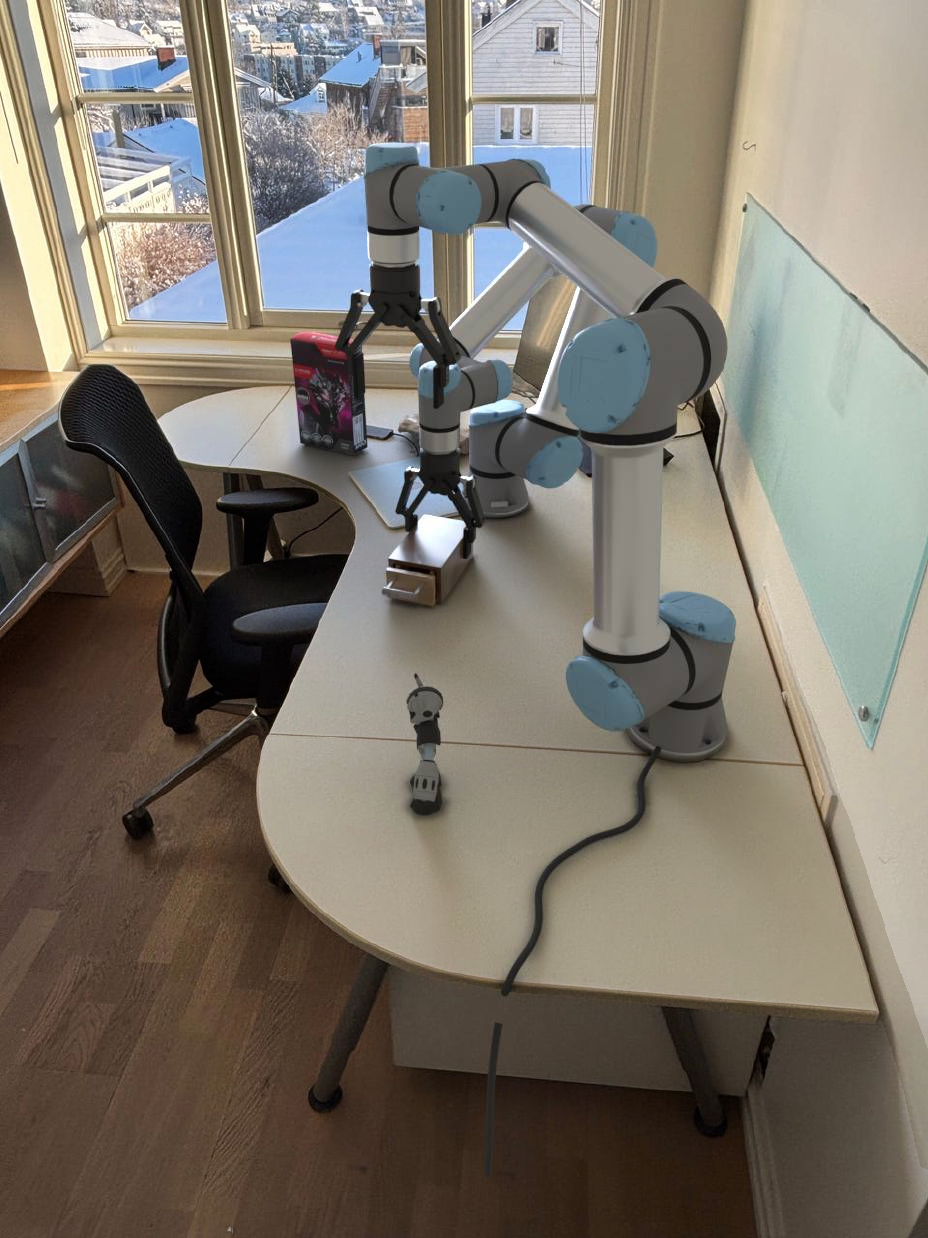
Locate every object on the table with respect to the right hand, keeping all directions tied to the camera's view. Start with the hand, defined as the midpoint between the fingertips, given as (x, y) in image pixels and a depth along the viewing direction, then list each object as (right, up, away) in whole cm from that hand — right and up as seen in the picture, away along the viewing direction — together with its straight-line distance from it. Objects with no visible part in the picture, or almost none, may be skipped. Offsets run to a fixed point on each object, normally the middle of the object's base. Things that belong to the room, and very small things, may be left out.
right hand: (398, 400), depth 147 cm
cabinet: (+4, -26, +34) cm, 43 cm away
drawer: (+2, -29, +29) cm, 41 cm away
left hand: (+6, -21, +36) cm, 42 cm away
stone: (+3, +10, +88) cm, 88 cm away
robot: (+5, -60, -16) cm, 62 cm away
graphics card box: (-22, +9, +86) cm, 89 cm away
